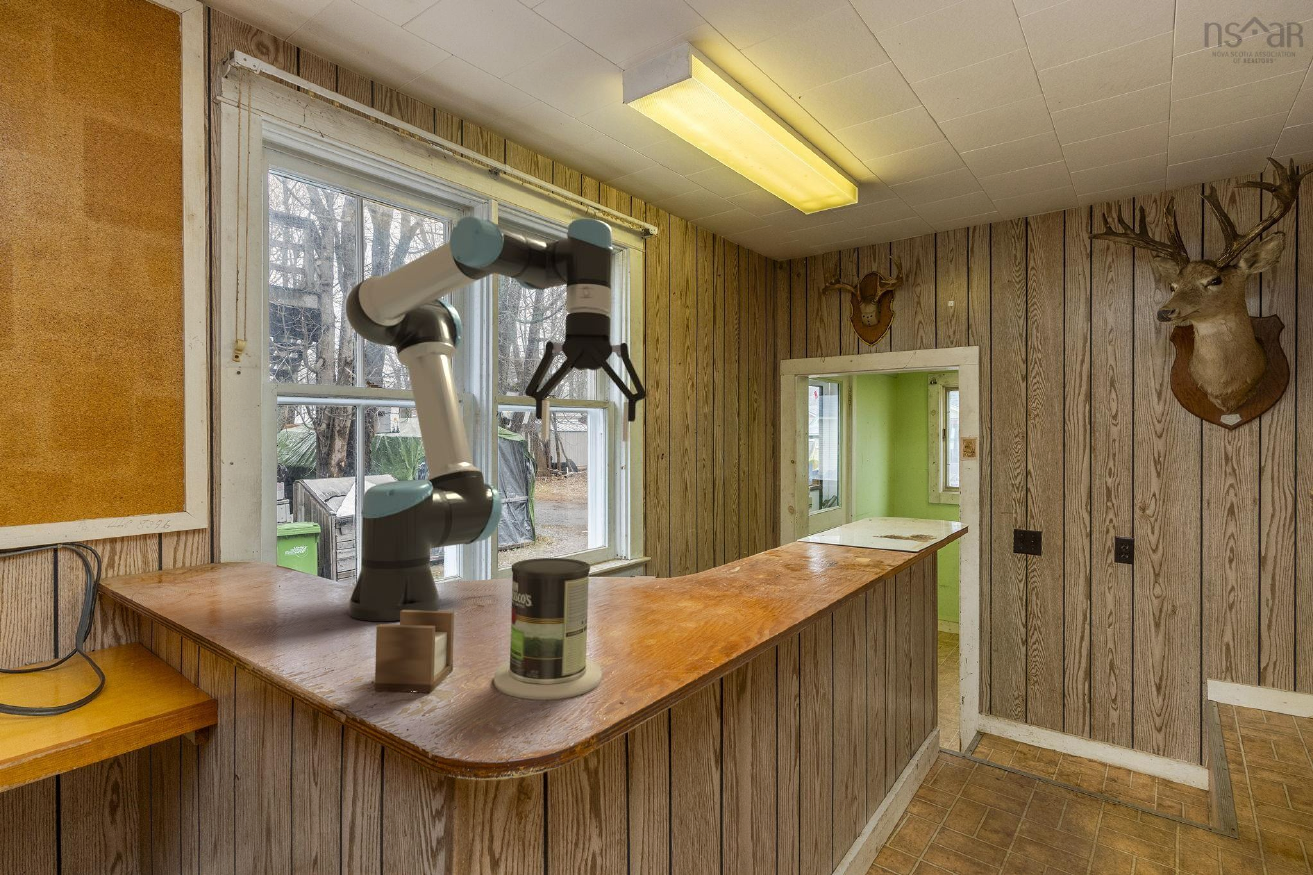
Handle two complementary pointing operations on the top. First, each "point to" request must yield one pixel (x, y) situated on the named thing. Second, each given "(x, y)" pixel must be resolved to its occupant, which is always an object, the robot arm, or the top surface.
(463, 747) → the top surface
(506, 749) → the top surface
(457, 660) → the top surface
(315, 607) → the top surface
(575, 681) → the disc
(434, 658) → the napkin caddy
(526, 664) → the coffee can
